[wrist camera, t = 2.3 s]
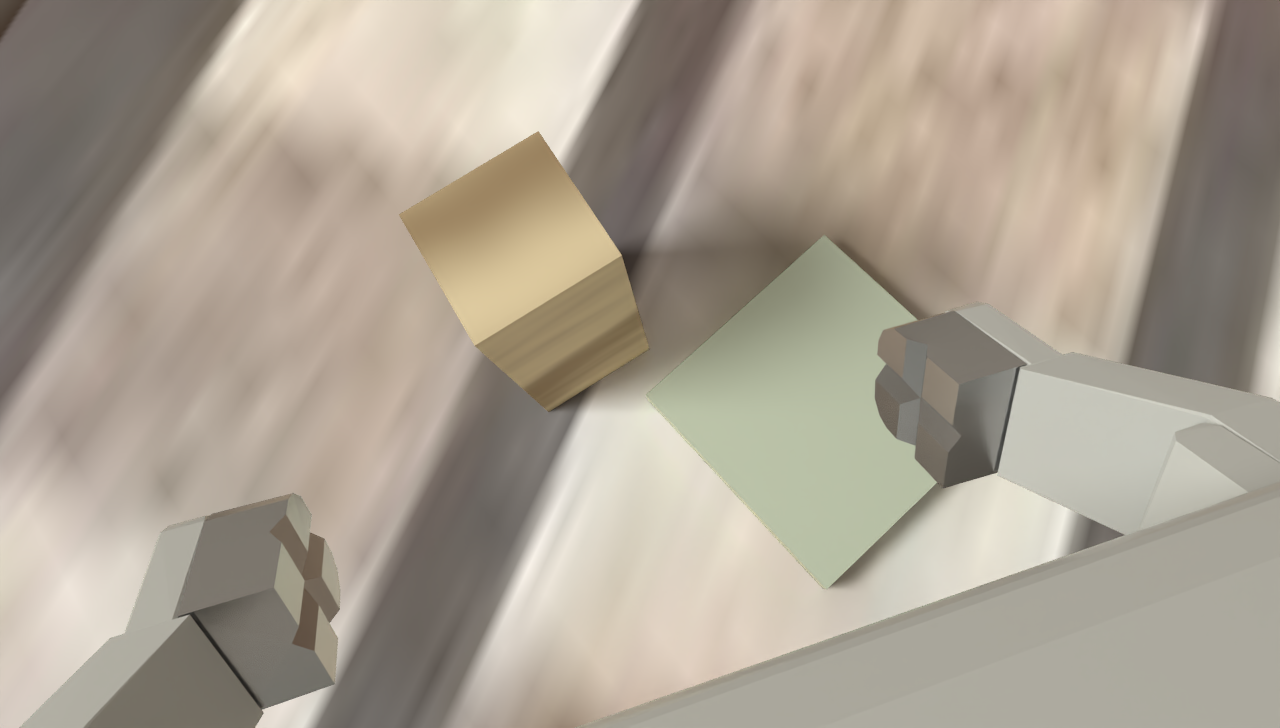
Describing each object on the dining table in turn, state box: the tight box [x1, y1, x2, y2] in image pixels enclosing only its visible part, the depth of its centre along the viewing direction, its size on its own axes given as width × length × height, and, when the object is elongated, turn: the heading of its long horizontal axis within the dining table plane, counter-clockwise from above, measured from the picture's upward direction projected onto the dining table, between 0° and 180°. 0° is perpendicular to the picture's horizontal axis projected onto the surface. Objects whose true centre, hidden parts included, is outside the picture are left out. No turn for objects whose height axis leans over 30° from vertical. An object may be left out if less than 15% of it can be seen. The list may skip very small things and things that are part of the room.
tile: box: [646, 235, 937, 589], centre depth 29 cm, size 10×10×1 cm
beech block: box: [399, 131, 649, 412], centre depth 27 cm, size 5×5×10 cm
